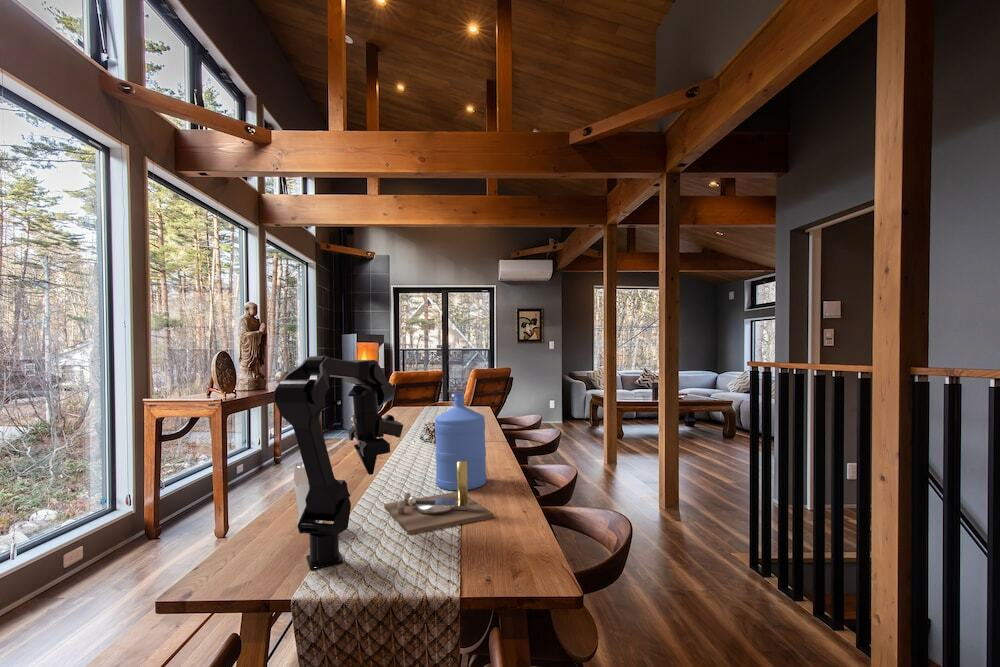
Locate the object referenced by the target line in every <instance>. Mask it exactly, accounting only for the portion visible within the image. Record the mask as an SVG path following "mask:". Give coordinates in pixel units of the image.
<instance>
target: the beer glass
mask: <svg viewBox="0 0 1000 667" xmlns="http://www.w3.org/2000/svg"><path fill="white" fill-rule="evenodd" d="M293 488H294V495H295V500H296V504H297V513H298V515H297V521H296V528H298V523H299V521H300V518H301V516H302V514H303V512H304V509H305V507H306V501H305V499H306V496H307V494H308V491H309V489H310V485H309V481H308V478H307V474H306V471H305V467H304V464H303V461H302V462H301V461H300V462H299V463H296V464H294V470H293ZM316 523H324V521H319V520H316Z"/></svg>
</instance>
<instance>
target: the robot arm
mask: <svg viewBox="0 0 1000 667" xmlns="http://www.w3.org/2000/svg"><path fill="white" fill-rule="evenodd" d="M313 376H315V377H316V376H317V377H318V378H317V379H316V380H315V379H310V378H311V377H313ZM329 378H340V379H343V380H344V382H346V383H348V384H352V385H353V386H352V388H351V390H350V391H349V392H348V395H347V396H348V397H352V404H353V406H352V407H353V415H352V421H354V426H353V427H351V428H350V429H349V430H348V432H347V433H348V439H349V441H354V439H355V440H356V443H355V444H353V447H354V450H356V453H357V455H358V457H359V459H360V460H361V463H362V464H363V466H364V469H365V471H366V473H367V474H368V475H370V476H371V475H374V473H375V472H374V471H375V467H376V462H377V458H378V456H379V455H384V454H390V453H391V444H390V442H389V441H387V440H386V439H385V438H384V437H385V435H386V436H393V437H395V438H399V439H400V438H401V436H402V433H403V428H404V424H403V423H402V422H400V421H398V420H395V416H393V415H391V414H385V416H384V417H382V416H381V414H379V407H380V406H382V405H384V404H386V403H387V402H390V401H391V400H393V399H394V396H395V393H396V391H395V388H394V385H393V384H392V383H391V382H389V381H388V380H387V379H388V378H387V376H385V374H384V372H383V369H382V368H381V365H379V362H378V361H377V360H376V359H352V360H344V359H339V358H334V357H333V358H332V357H331V356H328V355H314V356H312V355H311V356H308V357H306V358H304V360H303V361H302V362H301V364H300V365H298V366H297V367H295V368H294V369H292V370H291V371H289V372H288V373H286V375H284V377H283V378H282V379H281V381H280V382H279V383H278V384H277V386H276V387H275V390H274V393H273V399H274V402H275V404H276V407H277V409H278V412H279V414H280V416H281V417H282V418H284V419H285V421H286V422H288V423H289V424H290V425H291V426H292V427H293V431H294V435H295V438H296V442H297V445H298V449H299V452H300V456H301V460H302V462H303V464H304V467H305V471H306V474H307V478H308V481H309V485H310V489H309V491H308V494H307V496H306V499H305V501H306V507H305V509H304V512H303V514H302V516H301V518H300V521H299V523H298V527H297V528H298V532H299V534H308V537H309V538H308V539H309V540H308V542H309V554H307V555H305V558H306V562H307V565H308V567H309V570H313V569H312V568H314V567H321V568H323V567H322V566H325V567H328V566H327V565H330V566H334V564H335V565H338V564H343V563H344V558H343V556H342V554H341V552H340V544H339V542H340V541H339V540H340V538H339V537H340V536H339V535H341V533H343V532H344V531H346V530H347V529H348V528H349V523H350V516H351V509H352V503H351V499H350V498H351V493H350V492H349V489H348V483H347V482H346V480H344V479H336V478H335V474H334V471H333V468H332V462H331V459H330V456H329V455H330V454H329V452H328V448H327V443H326V440H325V437H324V433H323V430H322V424H321V422H320V416H321V413H322V410H323V407H324V405H325V404H324V403H325V402H324V397H325V395H326V393H328V391H329V389H330V382H329V381H330V380H329ZM316 520H319V521H323V523H316ZM327 522H333V523H327Z"/></svg>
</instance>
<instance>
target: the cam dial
mask: <svg viewBox="0 0 1000 667" xmlns="http://www.w3.org/2000/svg"><path fill="white" fill-rule="evenodd" d="M468 491H469V490H468V487H467V461H457V490H456V492H458V503H456V501H455V500H453V499H449V498H430V499H426V500H424V499H417V497H415V496H410V498H409V500H408V504H409V505H410V506H415V505H416V504H417V510H418V511H419V512H421V513H425V514H441V513H446V512H450V511H452V510H468V508H469V503H468V497H469V495H468V493H469V492H468Z"/></svg>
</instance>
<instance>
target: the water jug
mask: <svg viewBox="0 0 1000 667" xmlns="http://www.w3.org/2000/svg"><path fill="white" fill-rule="evenodd" d="M453 394H454V399H453V400H454V401H453V402H454V405H453V407H451V408H450V409H447V410H446V411H444V412H443V413H441V414H439V415H437V416H436V417H434V433H435V453H434V457H435V468H436V470H435V473H436V474H435V484H436V485H437V487H438V488H441V489H443V490H447V491H457V461H467V487H468V491H469V490H474V489H475V490H476V489H478V488H480V487H482V486H484V485H485V484H487V479H488V478H487V477H488V476H487V472H486V471H487V469H486V468H487V467H486V466H487V465H486V464H487V462H486V460H487V459H486V456H487V449H486V421H485V420H486V418H485V416H484V414H482V413H479V412H478V411H475V410H474V409H471V408H468V406H466V404H465V402H466V401H465V393H463V392H456V393H453Z"/></svg>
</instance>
